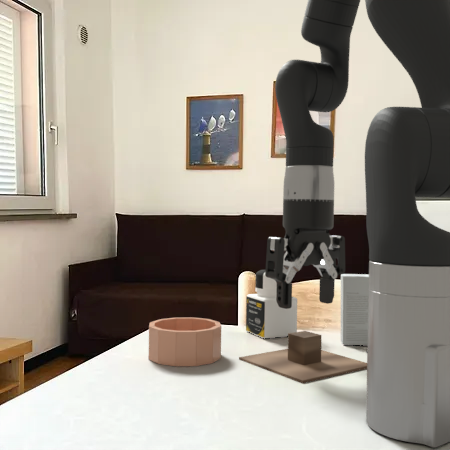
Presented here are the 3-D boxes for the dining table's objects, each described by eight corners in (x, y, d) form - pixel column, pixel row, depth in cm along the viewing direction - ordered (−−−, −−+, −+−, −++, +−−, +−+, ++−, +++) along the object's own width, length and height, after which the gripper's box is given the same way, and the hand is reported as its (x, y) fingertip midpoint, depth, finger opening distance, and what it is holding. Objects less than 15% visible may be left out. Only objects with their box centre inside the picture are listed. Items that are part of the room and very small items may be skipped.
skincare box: (373, 341, 95) (375, 274, 95) (378, 347, 91) (379, 276, 91) (339, 340, 96) (340, 273, 96) (342, 345, 91) (343, 275, 91)
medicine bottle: (245, 331, 102) (246, 268, 101) (277, 328, 105) (278, 267, 104) (263, 339, 95) (264, 272, 95) (297, 336, 98) (298, 271, 98)
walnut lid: (372, 371, 78) (372, 337, 78) (302, 388, 70) (302, 350, 70) (305, 351, 90) (306, 321, 90) (238, 363, 82) (239, 331, 82)
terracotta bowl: (234, 359, 82) (234, 326, 82) (171, 370, 75) (172, 335, 75) (195, 344, 91) (195, 315, 91) (136, 353, 84) (136, 321, 84)
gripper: (290, 196, 73) (287, 314, 73) (360, 198, 81) (357, 304, 81) (255, 196, 79) (253, 305, 79) (323, 198, 87) (321, 297, 88)
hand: (306, 305), depth 80 cm, fingers open, 8 cm apart
